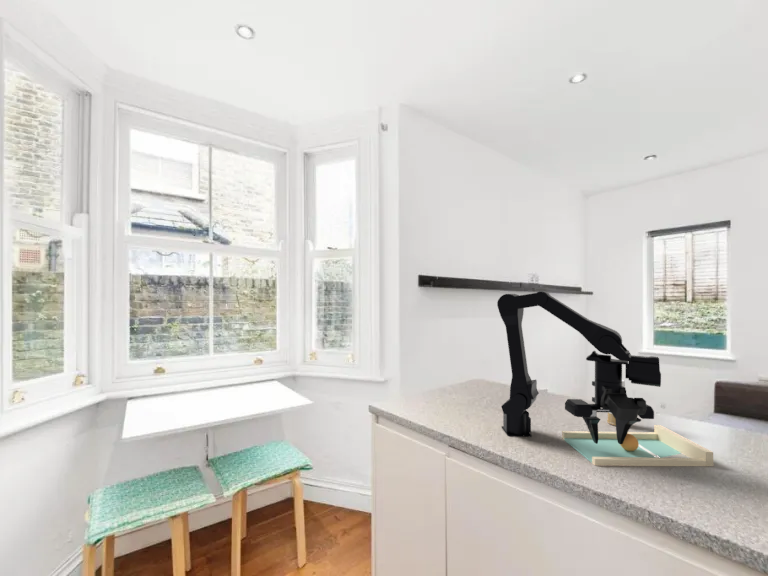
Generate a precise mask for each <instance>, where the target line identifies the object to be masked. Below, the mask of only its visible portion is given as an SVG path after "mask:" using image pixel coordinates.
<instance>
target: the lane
mask: <svg viewBox="0 0 768 576" xmlns="http://www.w3.org/2000/svg"><path fill="white" fill-rule="evenodd" d="M653 428H654V429H653V431H651V432H650V431H647V432H645V431H628V433H627V434H631V435H633V436H634V437H636V439H637V440H638V443H639V446H638V448H637V449H636V450H634V451H627V450H625V449H624V448H622V447H621V445H620V444H619V443H618V440H617V434H616V431H598V444H596V443H594V441H593V439H592V436H591V434H590V432H589V430H588V431H586V430H585V431H583V430H582V431H581V430H580V431H579V430H576V431H575V430H574V431H573V430H572V431H571V430H570V431H569V430H562V431H561V439H563V440H564V442H566V443H567V444H568V445H569V446H571V447H572V448H573V449H575V451H577V452H578V453H579V454H580V455H581V456H582V457H584V458H585V459H587V461H589V462H590V463H591V464H592V465H594V466H598V467H599V466H602V467H603V466H604V467H608V466H610V467H611V466H612V467H619V466H624V467H627V466H628V467H629V466H630V467H714V451H712V450H710V449H708V448H707V447H704V446H702V445H700V444H699V443H696V442H694V441H693V440H691V439H689V438H686V437H685V436H682V435H681V434H679V433H677V432H675V431H673V430H671V429H669V428H667V427H665V426H663V425H661V424H654V425H653ZM563 440H562V441H563ZM680 454H682V455H684V456H686V457H672V456H677V455H680ZM657 455H658V456H659V457H660V458H659V457H657ZM654 456H656V457H654Z"/></svg>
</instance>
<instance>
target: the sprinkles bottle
mask: <svg viewBox="0 0 768 576" xmlns="http://www.w3.org/2000/svg"><path fill="white" fill-rule="evenodd" d="M622 386H623V387H625V386H626V383H625V380H624V379H622ZM625 388H626V387H625ZM606 422H607V423H608V424H609V425H612V426H614V427H616V420H615V418H614V416H613V414H612V413H611V412H607V419H606Z"/></svg>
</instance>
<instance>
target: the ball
mask: <svg viewBox="0 0 768 576" xmlns="http://www.w3.org/2000/svg"><path fill="white" fill-rule="evenodd" d="M620 445H621V447H622V448H624V449H625V450H627V451H634V450H636V449H637V448H638V446H639V443H638V440H637V439H636V437H634V436H633V435H631V434H627V435H626V437H625V439H624V441H623V443H622V444H620Z"/></svg>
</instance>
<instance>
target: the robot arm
mask: <svg viewBox="0 0 768 576" xmlns="http://www.w3.org/2000/svg"><path fill="white" fill-rule="evenodd" d="M496 303H497V309H498V312H499V315H500V318H501V319H502V322H503V324H504V327H505V331H506V339H507V345H508V346H507V347H508V353H509V361H510V367H511V380H510V386H509V387H510V389H509V399H508V400H506V402H504V403H503V404H502V405H501V406H500V407H501V411H502V413H503V417H502V418H503V421H502V423H503V425H502V426H501V429H502V431H503V432H504V433H505V435H507V437H517V438H518V437H519V438H520V437H523V438H526V437H527V438H532V434H531V432H532V418H531V417H530V413H529V411H528V409H530V408H531V406H532V405H533V404H534V403H535V402H536V400H537V396H538V395H539V394H540V393H539V391H538V388H537V384H538V383H537V381H538V380H537V379H532V378H531V376H530V375H529V374H530V373H529V368H528V360H527V356H526V355H527V353H526V349H525V340H524V333H523V325H522V324H523V318H524V312H525V311H524V309H527V308H532V307H538V306H539V307H540V308H541V309H543V310H545V311H547V312H548V313H550V314H551V315H553V316H554V317H556V318H557V319H558V320H560V321H562V322H563V323H565V324H566V325H568V326H569V327H571V328H572V329H574V330H576V331H577V332H578V333H579V334H580V335H581V336H582V337H583V338H585V340H587V342H588V343H589V344H590V345H592V346H593V347H594V348H595V349H596V350H597V351H598V352H599V353H600V354H599V353H598V352H597V351H596V350H593V351H592V352H591V353H590V354H589V355H587V356H586V358H585V360H586V361H589V362H594V380H593V381H591V385H592V386H593V387H594V397H593V396H591V402H593V403H588V402H586V401H585V400H583V399H581V398H579V399H578V398H577V399H575V398H573V399H572V398H567V400H566V401H565V402H564V410H565V411H567V412H568V413H570V414H571V415H573V416H574V417H577V418H582V419H583V421H584V423H585V425H586V427H587V430H588V431H589V432H590V434H591V436H592V439H593V441H594V443H596V444H598V432H599V423H600V421H601V418H599V417H598V416H597V414H598V413H608V412H611V413H612V414H613V416H614V418H615V420H616V426H615V432H616V434H617V440H618V443H619V444H622V443H623V441H624V439H625V437H626V435H627V433H628V432H630V431H629V430H630V429H631V427H632V426H633V425H634V424H636V423H640V422H641V421H642V420H643V419H644V420H654V419H655V411H654V408H653V407H652V406H651V405H649V404H647V401H646V400H645V399H644V398H643V397H628V394H627V389H626V387H623V386H622V380H623V365H625V379H628V381H630V383H631V384H634V385H640V386H641V385H643V386H649V387H650V386H651V387H658V388H659V387H661V385H662V373H661V371H660V369H661V367H660V366H661V365H660V357H659V356H654V355H653V356H652V355H651V356H643V355H632V354H631V352H630V350H628V349H627V347H626V346H624V344H623V338H622V337H623V336H622V335H621V334H620V333H619V332H618V331H617V330H615V329H612V328H610V327H608V326H605V325H603V324H601V323H598V322H596V321H593V320H590V319H589V318H587V317H585V316H584V315H582V314H580V313H579V312H577V311H576V310H575V309H573V308H571V307H569V306H568V305H566V304H565V303H563V302H562V301H560V300H558V299H557V298H555V297H554V296H552V295H551V294H550V293H549V292H547V291H540V290H539V291H537V292H534V293H527V294H521V295H519V294H516V293H505V294H503V295H501V296H500V297H499V298H498V300H497V302H496ZM601 353H602V354H601ZM612 356H613V357H614V358H612Z"/></svg>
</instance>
